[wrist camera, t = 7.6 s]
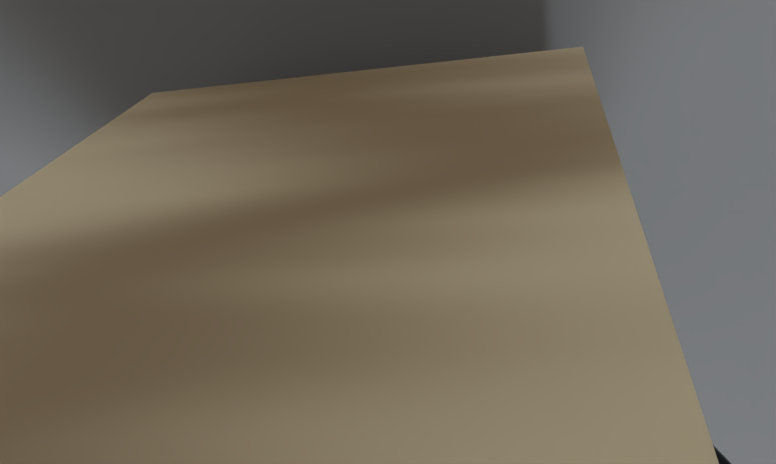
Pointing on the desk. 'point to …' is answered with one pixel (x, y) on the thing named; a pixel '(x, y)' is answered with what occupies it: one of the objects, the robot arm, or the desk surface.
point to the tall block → (343, 280)
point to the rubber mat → (467, 41)
